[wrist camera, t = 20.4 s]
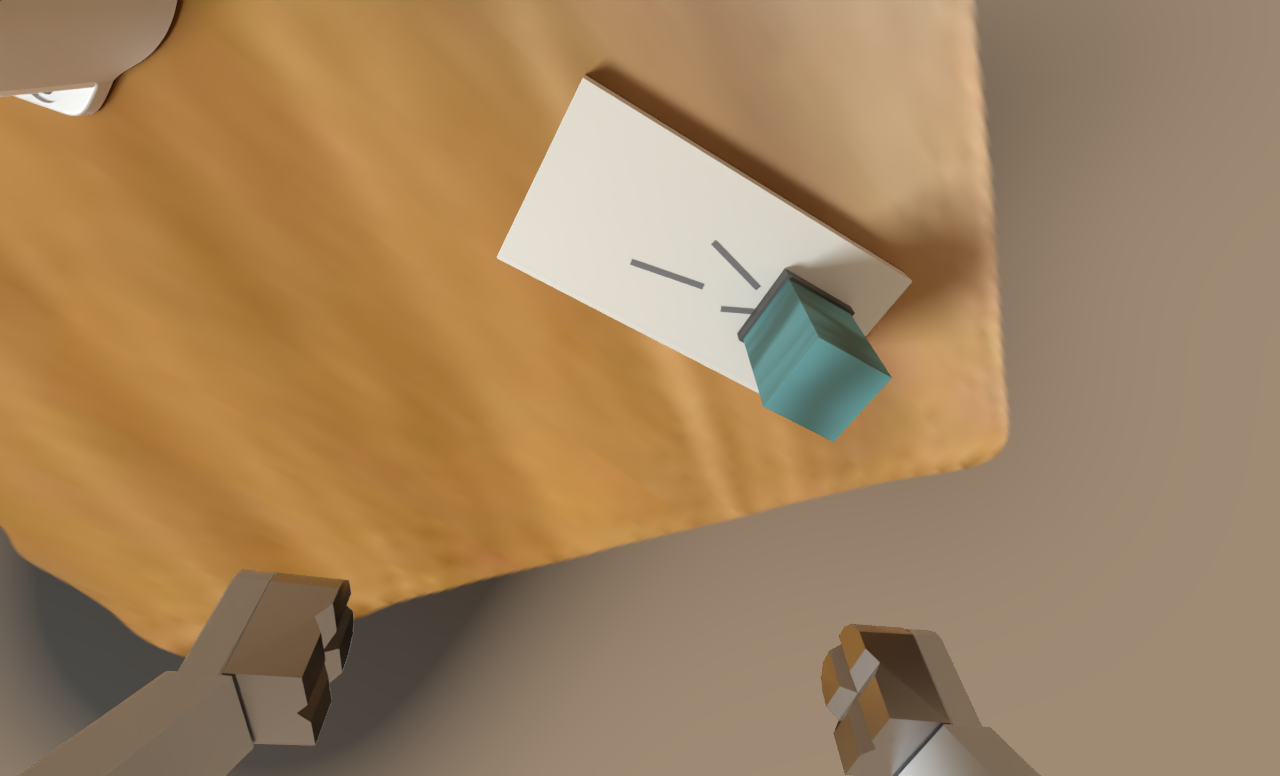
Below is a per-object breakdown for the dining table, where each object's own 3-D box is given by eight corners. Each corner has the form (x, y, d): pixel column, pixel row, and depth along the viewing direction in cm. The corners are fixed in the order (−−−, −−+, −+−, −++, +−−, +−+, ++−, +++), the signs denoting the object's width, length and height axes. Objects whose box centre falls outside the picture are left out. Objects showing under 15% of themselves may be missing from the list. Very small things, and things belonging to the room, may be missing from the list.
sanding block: (737, 333, 44) (758, 407, 36) (784, 268, 41) (818, 333, 34) (800, 367, 45) (834, 445, 38) (850, 306, 43) (897, 376, 35)
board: (500, 249, 42) (496, 258, 41) (584, 74, 37) (582, 77, 36) (795, 403, 49) (799, 414, 47) (904, 272, 43) (912, 281, 42)
